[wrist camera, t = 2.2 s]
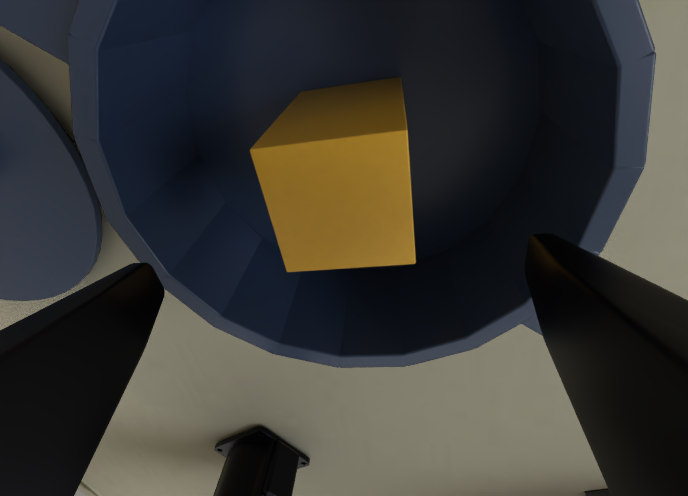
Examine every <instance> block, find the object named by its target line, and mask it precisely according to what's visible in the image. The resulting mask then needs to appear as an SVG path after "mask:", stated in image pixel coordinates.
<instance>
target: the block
mask: <svg viewBox="0 0 688 496" xmlns="http://www.w3.org/2000/svg"><path fill="white" fill-rule="evenodd" d="M250 153H251V156H252V159H253V163H254V166H255V169H256V173H257V176H258V179H259V182H260V186H261V189H262V192H263V195H264V199H265V202H266V205H267V209H268V212H269V215H270V218H271V222H272V225H273V228H274V231H275V235H276V238H277V241H278V245H279V248H280V251H281V254H282V258H283V261H284V264H285V267H286V271H287V272H298V271H313V270H329V269H345V268H360V267H376V266H391V265H407V264H415V263H416V256H415V239H414V223H413V207H412V191H411V175H410V159H409V143H408V129H407V121H406V114H405V106H404V98H403V90H402V82H401V77H396V78H389V79H382V80H376V81H369V82H362V83H356V84H349V85H342V86H336V87H329V88H322V89H316V90H309V91H302V92H300V93H299V94H298V95H297V97H296V98H295V99H294V100H293V101H292V102H291V103H290V105H289V106H288V107H287V108H286V109H285V110H284V111H283V112H282V114H281V115H280V116H279V117H278V118H277V119H276V120H275V122H274V123H273V124H272V125H271V126H270V127H269V128H268V129H267V131H266V132H265V133H264V134H263V135H262V136H261V137H260V139H259V140H258V141H257V142H256V143H255V144H254V145H253V146H252V148H251V149H250Z"/></svg>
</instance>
